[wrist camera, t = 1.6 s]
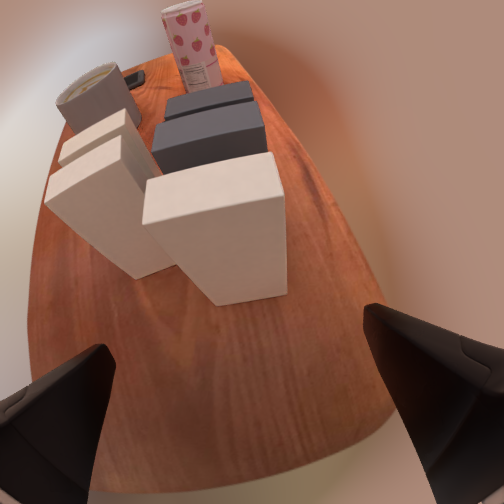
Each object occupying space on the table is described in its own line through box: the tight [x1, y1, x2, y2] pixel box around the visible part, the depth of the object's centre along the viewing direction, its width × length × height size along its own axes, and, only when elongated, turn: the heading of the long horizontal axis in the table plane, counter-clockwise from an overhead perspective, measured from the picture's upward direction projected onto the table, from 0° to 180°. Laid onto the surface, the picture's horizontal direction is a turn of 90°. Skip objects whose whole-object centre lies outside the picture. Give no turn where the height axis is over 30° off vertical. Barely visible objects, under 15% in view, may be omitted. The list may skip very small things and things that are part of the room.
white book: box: [142, 152, 287, 306], centre depth 15 cm, size 2×6×12 cm, turn 98°
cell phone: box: [124, 70, 144, 90], centre depth 41 cm, size 7×14×1 cm, turn 109°
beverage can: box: [161, 0, 224, 94], centre depth 28 cm, size 6×6×15 cm
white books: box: [44, 109, 176, 280], centre depth 19 cm, size 7×6×12 cm
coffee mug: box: [55, 62, 141, 135], centre depth 30 cm, size 13×10×10 cm
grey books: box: [151, 81, 268, 175], centre depth 18 cm, size 7×6×12 cm
